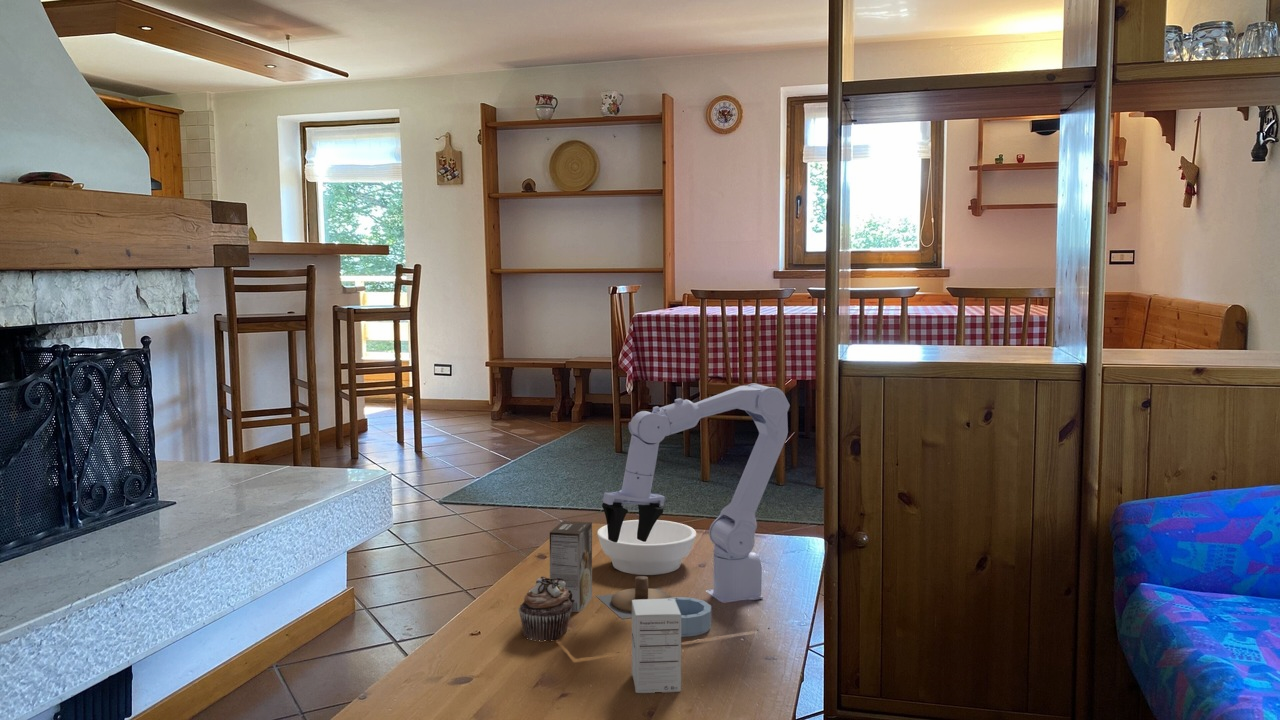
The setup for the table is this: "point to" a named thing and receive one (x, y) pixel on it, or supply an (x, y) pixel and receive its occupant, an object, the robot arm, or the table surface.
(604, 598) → the mat
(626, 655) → the table surface
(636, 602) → the supplement box
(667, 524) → the bowl
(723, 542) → the robot arm
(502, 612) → the table surface
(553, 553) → the coffee box
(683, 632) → the small bowl
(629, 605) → the lid
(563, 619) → the cupcake
